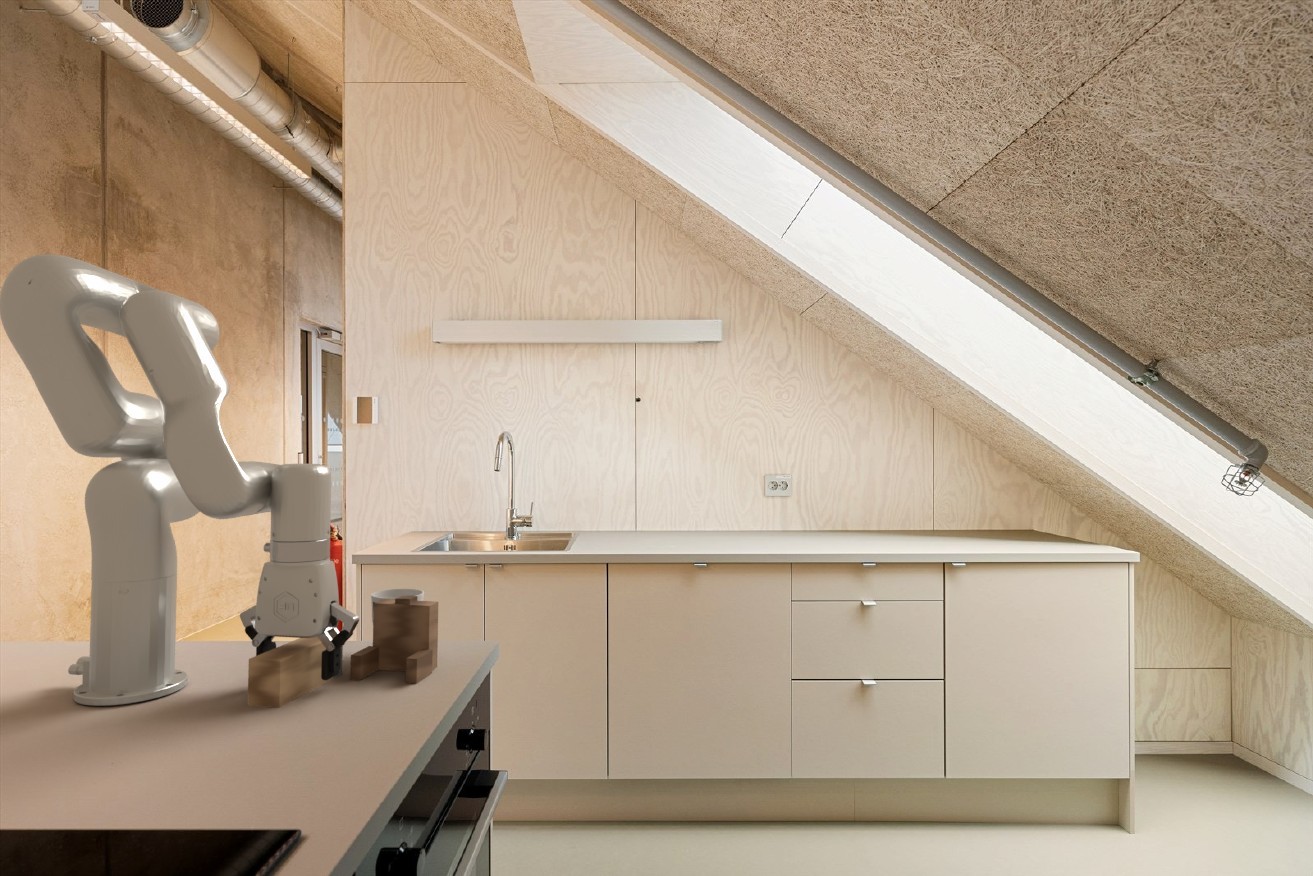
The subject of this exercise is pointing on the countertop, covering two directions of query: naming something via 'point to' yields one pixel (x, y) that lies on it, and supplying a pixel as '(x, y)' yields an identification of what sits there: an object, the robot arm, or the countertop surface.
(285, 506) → the robot arm
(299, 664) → the wooden block
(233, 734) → the countertop surface
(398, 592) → the cup
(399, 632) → the wooden footed block
